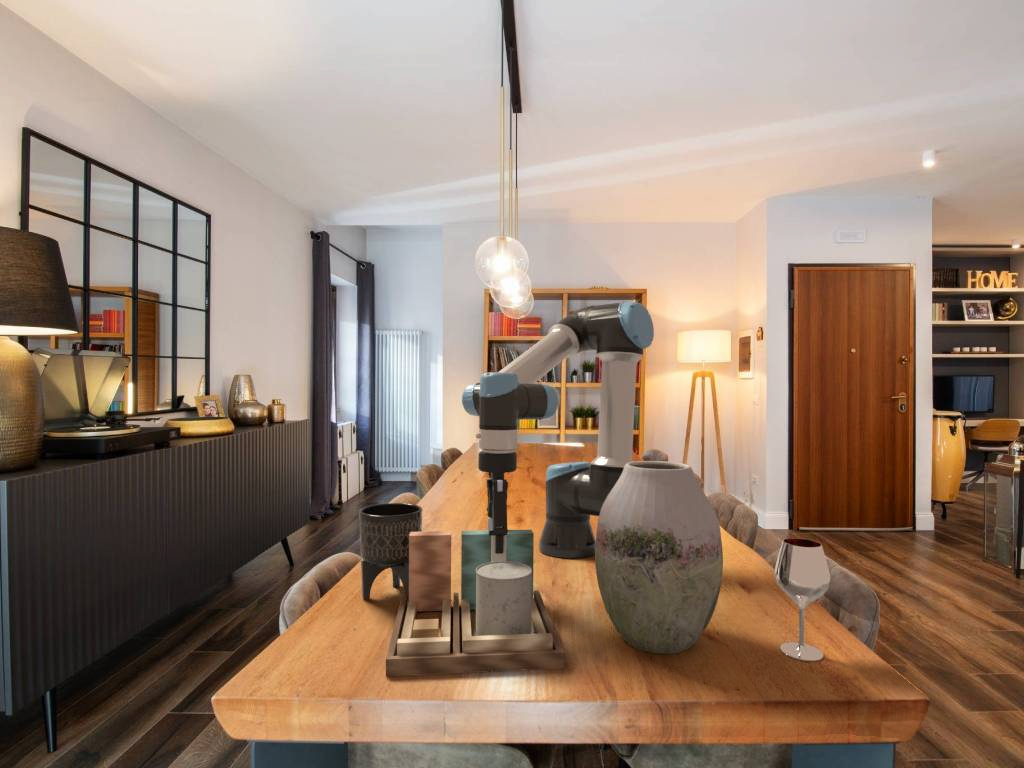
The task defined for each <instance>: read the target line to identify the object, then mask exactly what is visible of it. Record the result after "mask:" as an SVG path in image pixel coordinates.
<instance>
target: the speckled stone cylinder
mask: <svg viewBox="0 0 1024 768" xmlns="http://www.w3.org/2000/svg"><path fill="white" fill-rule="evenodd" d="M531 573H532V569H531V568H530V567H529V566H528V565H526V564H523V563H519V562H512V561H496V562H489V563H485V564H482V565H480V566H478V567H477V568H476V610H475V636H488V635H515V634H532V627H531Z"/></svg>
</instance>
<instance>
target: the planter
mask: <svg viewBox="0 0 1024 768" xmlns="http://www.w3.org/2000/svg"><path fill="white" fill-rule="evenodd" d="M358 519H359V520H358V521H359V544H360V545H359V546H360V557H361V559H362V560H360V562H361V563H360V565H361V568H360V569H361V594H362V600H363V601H369V600H370V599H371V598H370V596H371V591H372V586H373V583H374V581H375V580H376V579H377V577H378V576H379V575H380V574H381V573H383V572H384V571H385V570H387V569H391V573H392V588H399V587H400V586H401V584H402V588H403V594H407V602H409V535H410V532H423V531H422V528H423V507H422V506H420V505H417V504H412V503H404V502H403V503H402V502H391V503H389V502H388V503H387V502H386V503H377V504H372V505H367V506H364V507H362V508H360V509H359V511H358Z"/></svg>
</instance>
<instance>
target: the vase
mask: <svg viewBox="0 0 1024 768" xmlns="http://www.w3.org/2000/svg"><path fill="white" fill-rule="evenodd" d="M721 533H722V532H721V525H720V521H719V518H718V516H717V513H716V511H715V509H714V506H713V504H712V502H710V499H709V498H708V496H707V495H706V494H705V492H704V489H702V487H701V486H700V484H699V482H698V480H697V478H696V476H695V473H694V471H693V469H692V466H690V465H689V464H687V463H686V464H685V463H683V462H682V463H681V462H675V461H661V460H639V461H634V462H629V463H627V464H625V466H624V469H623V472H622V474H621V476H620V478H619V479H618V481H617V483H616V484H615V486H614V487H613V489H612V490H611V492H610V493H609V495H608V496H607V498H606V500H605V501H604V503H603V506H602V508H601V511H600V515H599V517H598V520H597V526H596V533H595V535H596V536H595V540H596V544H595V554H594V561H595V562H594V563H595V573H596V580H597V585H598V589H599V593H600V597H601V600H602V603H603V605H604V608H605V611H606V612H607V613H606V614H607V615H608V617H609V619H610V621H611V623H612V626H614V628H615V630H616V631H617V632H618V634H619V635H620V636H621V638H622V639H623V640H624V641H625V642H626V643H627V644H629V645H630V646H631V647H633V648H635V649H638V650H640V651H644V652H648V653H653V654H664V655H671V654H677V653H678V654H679V653H682V652H684V651H686V650H689V649H690V648H691V647H693V646H694V644H696V643H697V641H698V640H699V638H700V637H701V636H702V634H704V632H705V631H706V629H707V627H708V625H709V624H710V622H711V619H712V618H713V616H714V613H715V610H716V607H717V604H718V600H719V596H720V592H721V586H722V579H723V573H724V572H723V570H724V569H723V568H724V567H723V566H724V554H723V542H722V534H721Z"/></svg>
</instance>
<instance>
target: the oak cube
mask: <svg viewBox="0 0 1024 768" xmlns="http://www.w3.org/2000/svg"><path fill="white" fill-rule="evenodd" d="M434 637H439V618H428V619H427V618H425V619H423V618H422V619H415V621H414V626H413V636H412V638H434Z"/></svg>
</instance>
